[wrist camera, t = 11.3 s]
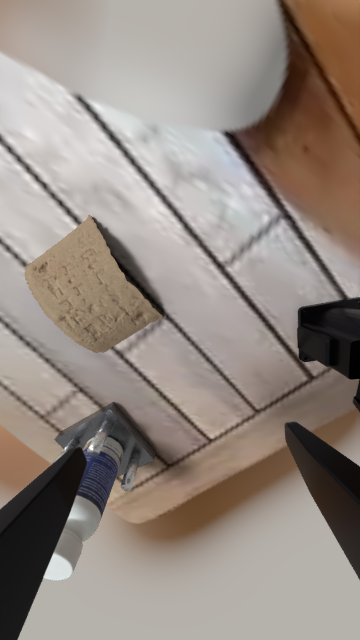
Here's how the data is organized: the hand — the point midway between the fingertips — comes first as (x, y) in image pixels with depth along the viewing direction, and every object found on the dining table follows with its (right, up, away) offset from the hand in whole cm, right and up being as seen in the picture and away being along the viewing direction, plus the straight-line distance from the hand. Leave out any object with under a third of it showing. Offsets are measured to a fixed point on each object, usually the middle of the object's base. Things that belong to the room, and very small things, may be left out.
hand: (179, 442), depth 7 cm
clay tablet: (-10, +9, +13) cm, 18 cm away
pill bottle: (-10, -13, +16) cm, 23 cm away
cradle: (-10, -13, +17) cm, 24 cm away
